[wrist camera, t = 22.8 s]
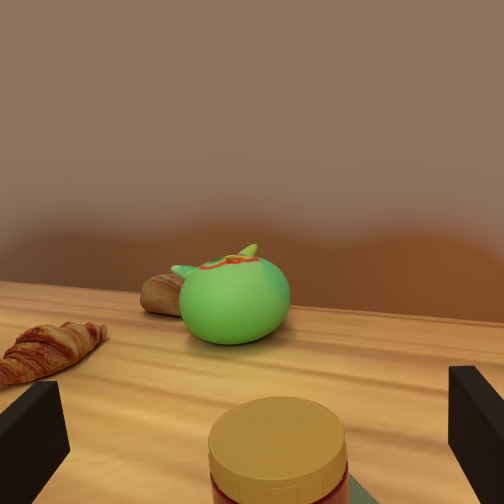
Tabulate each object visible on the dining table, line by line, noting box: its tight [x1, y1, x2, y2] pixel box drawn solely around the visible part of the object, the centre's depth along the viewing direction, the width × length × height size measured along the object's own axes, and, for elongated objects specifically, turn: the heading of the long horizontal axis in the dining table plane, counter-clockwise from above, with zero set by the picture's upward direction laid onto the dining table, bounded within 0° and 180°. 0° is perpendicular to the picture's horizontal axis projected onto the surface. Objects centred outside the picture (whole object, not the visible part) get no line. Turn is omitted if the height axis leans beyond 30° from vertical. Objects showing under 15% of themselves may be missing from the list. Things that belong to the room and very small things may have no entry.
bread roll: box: [140, 273, 185, 316], centre depth 89 cm, size 10×15×8 cm, turn 57°
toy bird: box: [171, 244, 291, 345], centre depth 73 cm, size 18×17×15 cm
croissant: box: [0, 322, 107, 385], centre depth 70 cm, size 21×10×8 cm, turn 151°
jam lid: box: [208, 397, 347, 504], centre depth 26 cm, size 8×8×2 cm
